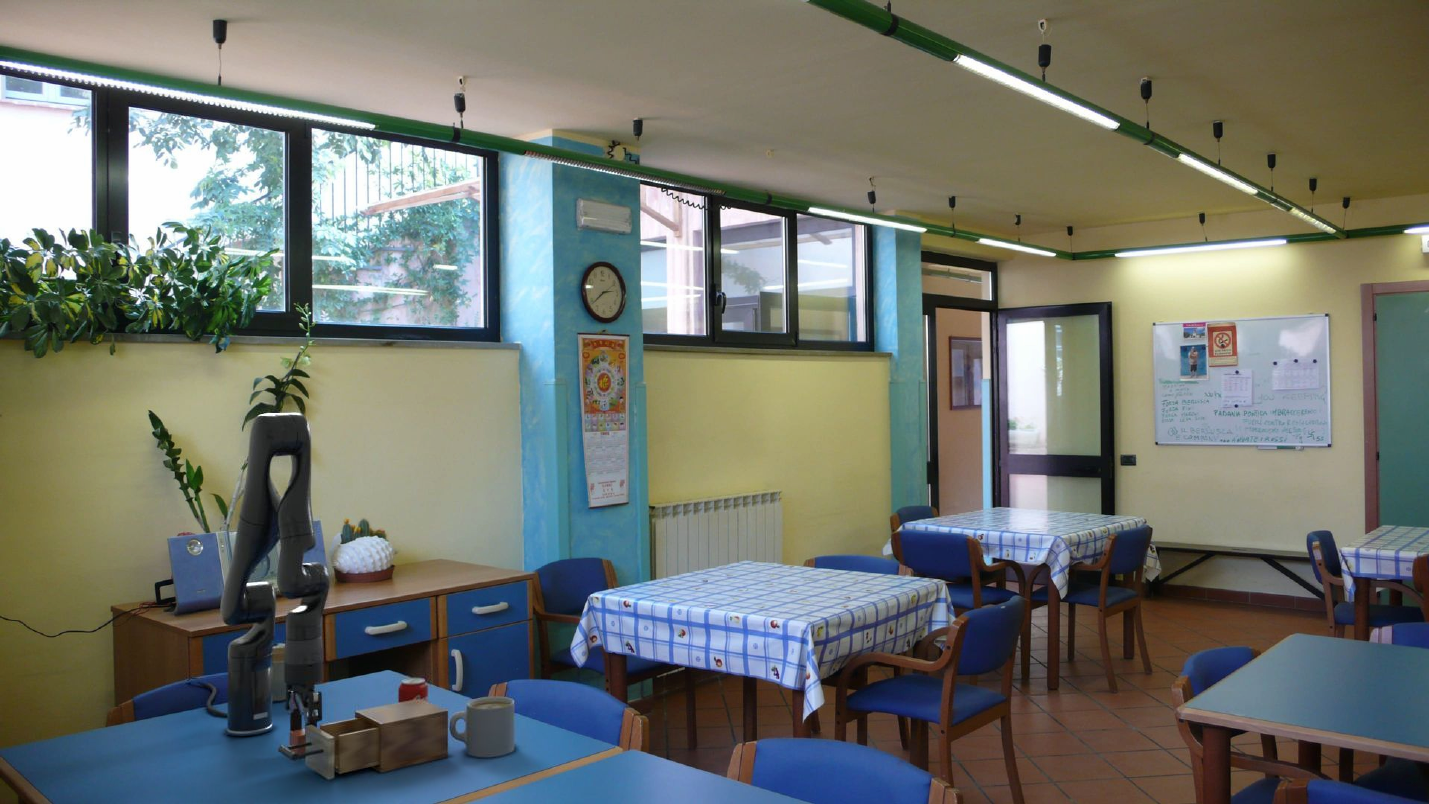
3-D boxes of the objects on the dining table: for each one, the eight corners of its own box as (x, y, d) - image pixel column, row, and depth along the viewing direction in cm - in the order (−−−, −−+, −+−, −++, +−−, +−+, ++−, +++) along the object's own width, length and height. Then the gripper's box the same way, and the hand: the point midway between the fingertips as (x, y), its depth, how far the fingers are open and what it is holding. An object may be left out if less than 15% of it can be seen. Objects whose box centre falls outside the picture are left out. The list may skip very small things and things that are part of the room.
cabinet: (381, 772, 207) (381, 724, 207) (354, 757, 216) (354, 711, 216) (447, 756, 217) (448, 710, 217) (419, 743, 226) (420, 698, 226)
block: (289, 753, 219) (289, 731, 219) (310, 748, 222) (310, 727, 222) (297, 758, 216) (297, 736, 216) (318, 753, 219) (319, 732, 219)
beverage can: (419, 739, 228) (419, 684, 229) (392, 737, 230) (393, 683, 230) (432, 731, 235) (432, 677, 235) (406, 729, 236) (407, 676, 236)
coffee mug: (519, 743, 226) (519, 697, 226) (506, 758, 216) (507, 709, 216) (459, 741, 227) (459, 695, 227) (443, 756, 217) (444, 708, 217)
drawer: (295, 786, 196) (296, 745, 196) (273, 771, 205) (274, 731, 205) (394, 763, 209) (394, 725, 210) (370, 750, 218) (370, 713, 218)
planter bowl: (228, 704, 256) (228, 660, 257) (266, 687, 272) (267, 646, 273) (288, 707, 254) (288, 662, 254) (323, 690, 270) (324, 648, 270)
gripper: (273, 656, 222) (273, 733, 221) (298, 667, 211) (297, 748, 211) (309, 651, 227) (308, 726, 226) (334, 661, 216) (334, 740, 216)
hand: (303, 736), depth 218 cm, fingers open, 8 cm apart
